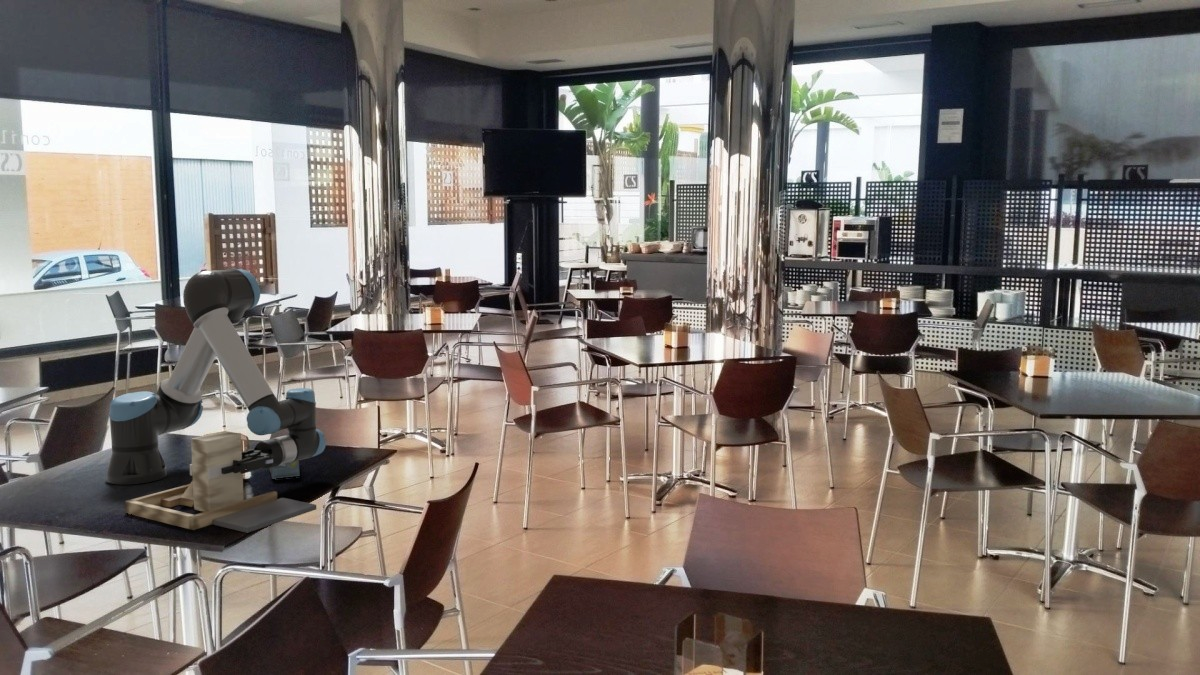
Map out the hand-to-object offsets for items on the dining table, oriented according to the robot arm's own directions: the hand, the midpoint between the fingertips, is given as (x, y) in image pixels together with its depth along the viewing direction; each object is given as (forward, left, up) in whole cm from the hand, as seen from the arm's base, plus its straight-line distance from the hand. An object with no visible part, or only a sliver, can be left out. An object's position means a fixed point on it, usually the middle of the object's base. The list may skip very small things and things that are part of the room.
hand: (199, 471), depth 232 cm
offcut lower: (-11, +4, -11) cm, 16 cm away
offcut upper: (-9, +4, -9) cm, 13 cm away
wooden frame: (-2, +2, -10) cm, 10 cm away
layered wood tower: (0, +5, -10) cm, 11 cm away
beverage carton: (-13, +38, -10) cm, 41 cm away
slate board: (+17, +5, -10) cm, 20 cm away
